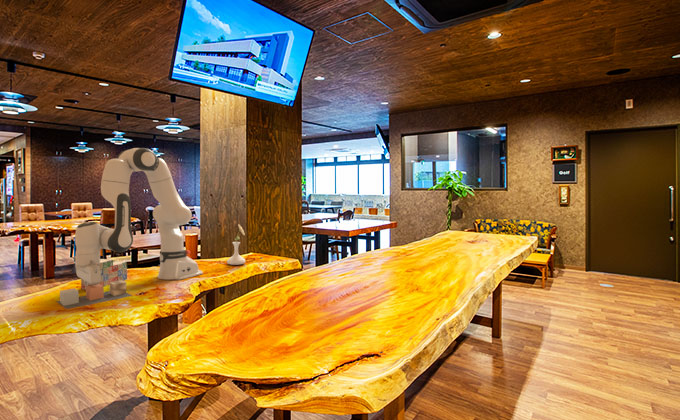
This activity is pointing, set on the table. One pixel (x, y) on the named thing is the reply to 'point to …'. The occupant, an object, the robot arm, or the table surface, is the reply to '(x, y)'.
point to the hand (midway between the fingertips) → (88, 290)
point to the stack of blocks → (110, 272)
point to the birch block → (117, 287)
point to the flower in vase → (236, 251)
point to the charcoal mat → (85, 301)
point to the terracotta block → (94, 292)
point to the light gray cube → (69, 296)
